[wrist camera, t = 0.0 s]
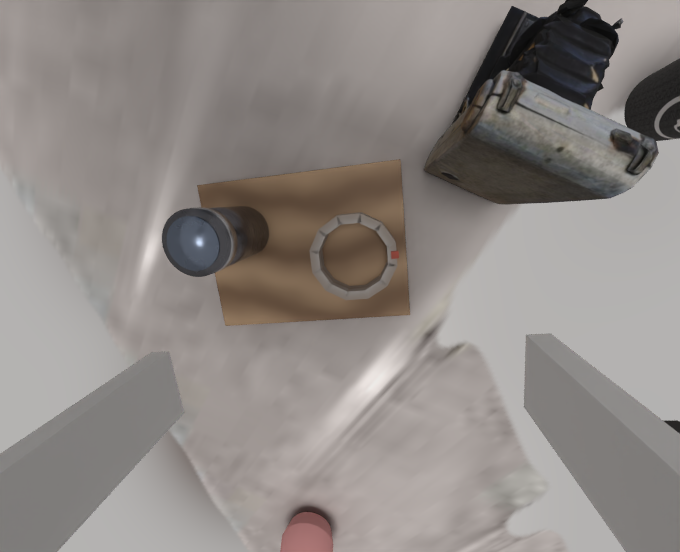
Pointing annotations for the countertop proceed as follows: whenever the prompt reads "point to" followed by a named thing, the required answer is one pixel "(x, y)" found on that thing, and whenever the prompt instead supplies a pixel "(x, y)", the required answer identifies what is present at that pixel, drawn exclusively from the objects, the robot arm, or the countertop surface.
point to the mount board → (294, 238)
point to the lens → (213, 238)
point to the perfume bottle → (307, 534)
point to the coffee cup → (656, 104)
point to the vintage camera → (542, 116)
